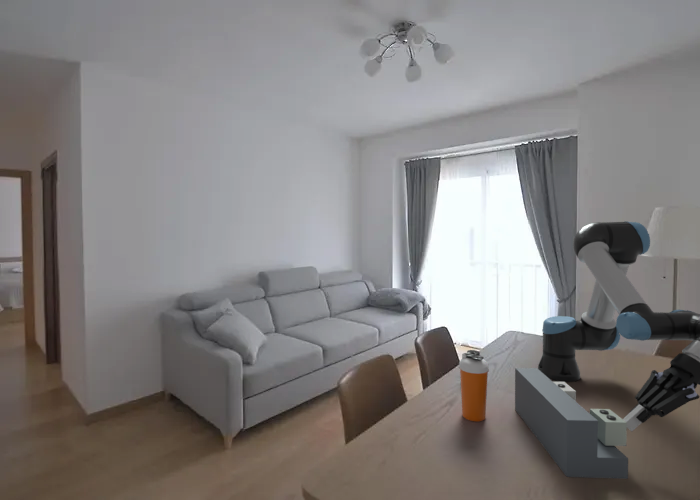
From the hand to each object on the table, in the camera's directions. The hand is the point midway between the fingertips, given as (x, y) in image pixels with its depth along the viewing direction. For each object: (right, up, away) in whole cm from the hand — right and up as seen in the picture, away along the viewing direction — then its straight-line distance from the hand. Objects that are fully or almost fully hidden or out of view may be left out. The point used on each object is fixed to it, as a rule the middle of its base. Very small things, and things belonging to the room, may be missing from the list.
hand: (626, 426), depth 96 cm
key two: (-4, -3, +1) cm, 6 cm away
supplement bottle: (-22, -7, +51) cm, 56 cm away
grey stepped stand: (-11, -8, +10) cm, 17 cm away
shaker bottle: (-31, -8, +24) cm, 40 cm away
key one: (-6, -2, +19) cm, 20 cm away
